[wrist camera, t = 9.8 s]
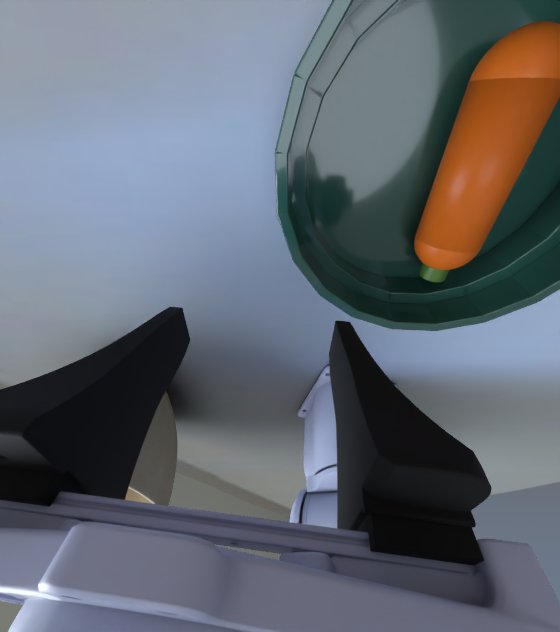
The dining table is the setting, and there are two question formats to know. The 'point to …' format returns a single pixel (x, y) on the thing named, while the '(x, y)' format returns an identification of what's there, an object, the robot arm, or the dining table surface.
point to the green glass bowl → (406, 164)
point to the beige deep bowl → (156, 459)
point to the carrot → (489, 145)
